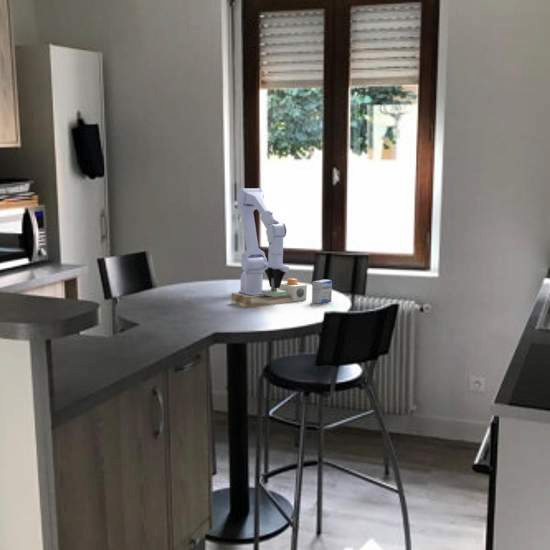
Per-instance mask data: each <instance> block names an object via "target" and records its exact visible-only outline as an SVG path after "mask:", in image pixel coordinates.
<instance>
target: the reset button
mask: <svg viewBox="0 0 550 550" xmlns="http://www.w3.org/2000/svg"><path fill="white" fill-rule="evenodd" d="M286 280H287V281H286V282H287V284H288V285H297V283H298V278H294V277H291V278H287V279H286Z"/></svg>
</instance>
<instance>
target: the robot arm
mask: <svg viewBox="0 0 550 550" xmlns="http://www.w3.org/2000/svg"><path fill="white" fill-rule="evenodd" d="M264 198H265V194H264V192H263V189H261V188H260V187H257V188H254V187H253V188H244V187H241V188H239V189H238V191H237V194H236V201H237V207H238V210H240V215H241V221H242V228H243V229H242V230H243V235H244V241H245V242H244V243H245V247H246V250H245V251H244V252H243V253H242V254H241V257H240V258H241V260H240V261H241V262H240V266H241V269H242V271H243V272H242V273H241V275H240V290H238V292H239V293H240V294H241V293H242V294H244V295H248V296H257V295H262V294H261V290H263V283H264V282H263V277H264V276H263V275H264V273H265V274H266V276H267V279H268V283H269V284H268V285H269V287H270V288H271V278H274V287H275V288H277V289H278V288H280V285H281V282H282V281H283V279H284V276H285V275H286V273H289V272H290V266H287V265H285V264H284V263H283V260H284V257H283V256H284V238H285V237H286V236H287V227H286V224H285V223H284V222H281V221H279V219H278V217H277V216H276V214H275V213H274V211H273V210H269V208H268V206H267V204H266V202H265V199H264ZM255 210H257V211H258V213H259V214H260V220H261V222H262V224H263V225H264V227H265V228H266V230H265V234H266V239H267V243H268V258H267V257H266V254H265V252H264V250H261V248H259V242H258V235H257V227H256V221H255V216H254V212H255Z"/></svg>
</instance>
